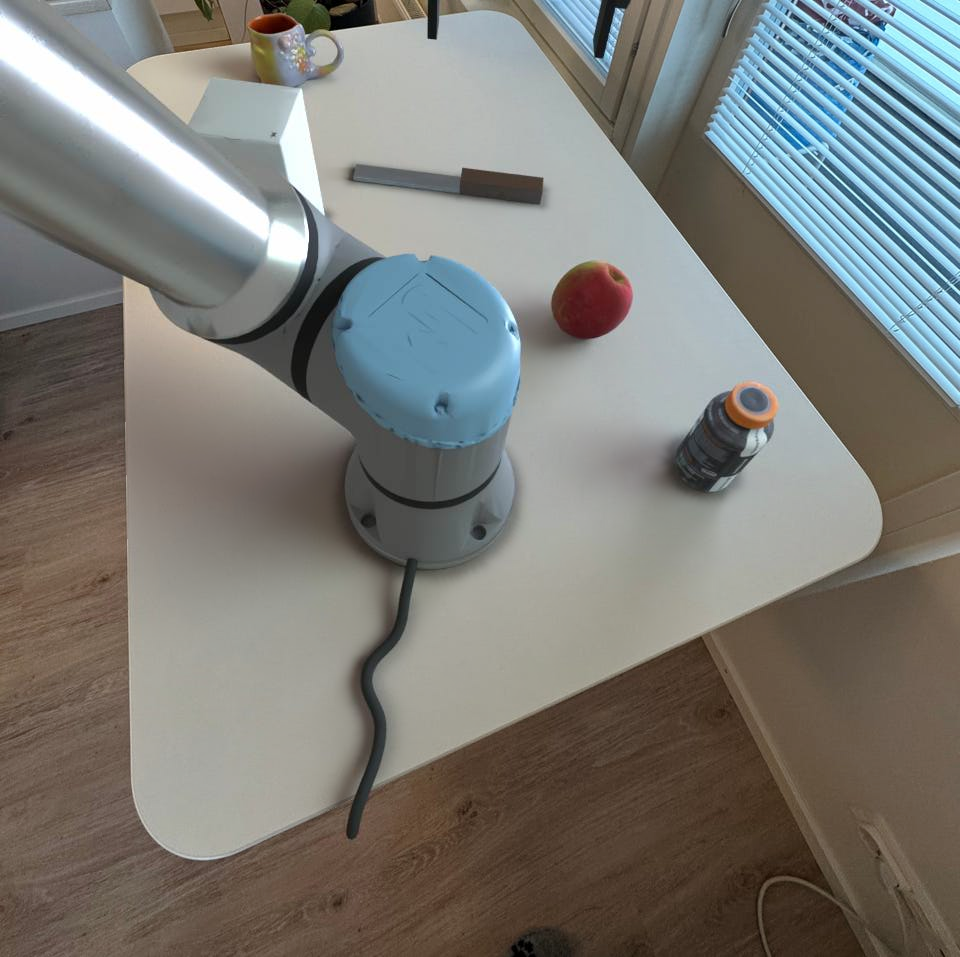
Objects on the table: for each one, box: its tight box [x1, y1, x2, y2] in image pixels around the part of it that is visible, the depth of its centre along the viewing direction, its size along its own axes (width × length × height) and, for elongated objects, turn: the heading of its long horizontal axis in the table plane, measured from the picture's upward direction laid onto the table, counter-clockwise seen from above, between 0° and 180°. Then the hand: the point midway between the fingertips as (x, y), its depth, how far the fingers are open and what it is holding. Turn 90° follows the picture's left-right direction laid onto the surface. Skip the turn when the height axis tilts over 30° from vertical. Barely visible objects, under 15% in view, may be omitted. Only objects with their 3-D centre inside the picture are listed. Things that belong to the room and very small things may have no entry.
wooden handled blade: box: [352, 163, 544, 205], centre depth 77 cm, size 23×3×2 cm, turn 85°
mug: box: [246, 12, 345, 88], centre depth 83 cm, size 12×7×7 cm, turn 92°
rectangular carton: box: [187, 76, 326, 216], centre depth 65 cm, size 9×9×15 cm
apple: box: [550, 260, 634, 340], centre depth 65 cm, size 8×8×8 cm
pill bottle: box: [673, 381, 779, 493], centre depth 57 cm, size 6×6×11 cm
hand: (516, 40), depth 52 cm, fingers open, 13 cm apart
